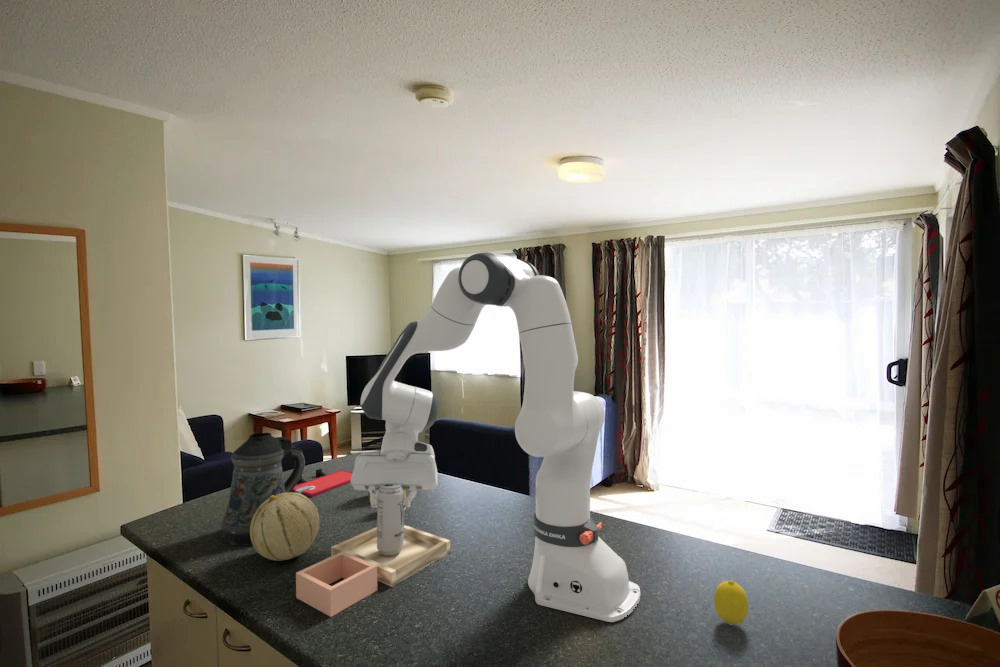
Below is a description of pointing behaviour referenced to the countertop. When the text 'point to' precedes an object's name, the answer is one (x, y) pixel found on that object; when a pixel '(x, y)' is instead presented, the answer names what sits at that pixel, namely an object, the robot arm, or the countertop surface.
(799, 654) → the countertop surface
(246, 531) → the beer stein
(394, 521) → the energy drink can
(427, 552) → the tray
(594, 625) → the countertop surface
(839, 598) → the countertop surface
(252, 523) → the cantaloupe
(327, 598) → the frame
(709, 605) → the countertop surface
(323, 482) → the red board with handle
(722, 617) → the lemon
